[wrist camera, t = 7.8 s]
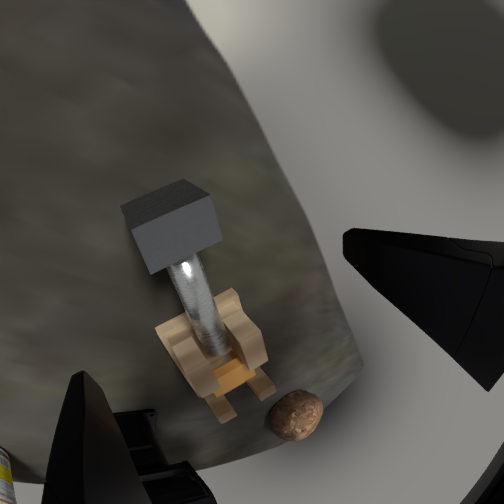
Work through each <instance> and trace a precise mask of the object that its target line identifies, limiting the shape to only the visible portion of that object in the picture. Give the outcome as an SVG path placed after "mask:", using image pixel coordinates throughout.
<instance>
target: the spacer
mask: <svg viewBox="0 0 504 504" xmlns="http://www.w3.org/2000/svg"><path fill="white" fill-rule="evenodd" d="M231 354H232V356H233V358H234V359H233V360H232V361H230V362H228V363H226V364H225V365H223V366H221V367H219V368H217V369H216V370H214V371H213V373H214V375H215V377H216V379H217V381H218V382H219V384H220V386H221V389H219V390H217V391H215V392H214V394H215V396H216V397H219V396H221V395H223V394H225V393H226V392H228V391H230V390H232V389H233V388H235V387H237V386H238V385H240V384H242V383H244V382H245V381H247V380H249V379H250V378H252V377H254V376H255V375H256V373H255V370H252V371H249V369H248V368H247V367H246V366H245V364H244V363H243V362H242V360H241V359H240V358H239V357H238V355H237V354H236V353H235V351H234V350H232V351H231Z"/></svg>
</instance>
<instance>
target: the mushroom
mask: <svg viewBox="0 0 504 504" xmlns="http://www.w3.org/2000/svg"><path fill="white" fill-rule="evenodd" d="M322 414H323V403H322V401H321V400H320V399H319V398H318V397H317V396H316V395H315V394H312V393H310V392H307V391H296V392H293V393H291V394H288V395H286V396H285V397H283V398H282V399H281V400H280V401H278V402H277V404H276V405H275V406H274V407H273V409H272V410H271V413H270V417H269V424H270V428H271V430H272V431H273V432H274V433H275V434H276V435H277V436H278V437H279V438H282V439H284V440H287V441H298V440H301V439H303V438H305V437H307V436H308V435H309V434H310V433H312V432H313V431H314V429H315V428H316V426H317V424H318V423H319V421H320V419H321V416H322Z"/></svg>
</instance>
